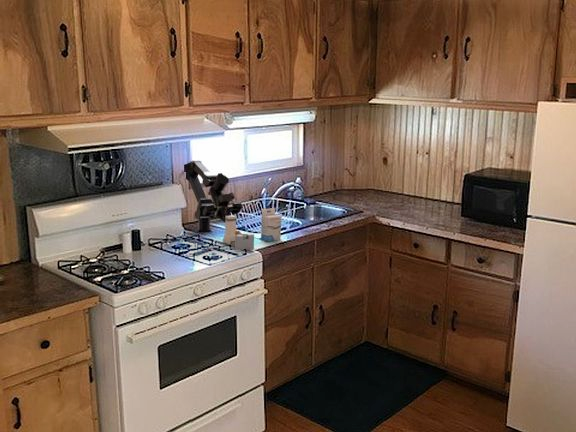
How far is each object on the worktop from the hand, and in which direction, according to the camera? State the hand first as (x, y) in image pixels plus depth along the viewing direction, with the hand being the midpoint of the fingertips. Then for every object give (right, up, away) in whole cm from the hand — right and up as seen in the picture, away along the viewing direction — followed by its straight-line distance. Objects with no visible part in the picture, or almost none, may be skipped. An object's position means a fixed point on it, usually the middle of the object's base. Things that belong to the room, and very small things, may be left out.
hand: (228, 224), depth 289 cm
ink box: (+19, -8, +8) cm, 22 cm away
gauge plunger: (+7, -6, -9) cm, 13 cm away
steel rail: (+3, -9, -3) cm, 10 cm away
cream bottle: (+1, -8, -1) cm, 9 cm away
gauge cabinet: (+8, -11, -11) cm, 17 cm away
